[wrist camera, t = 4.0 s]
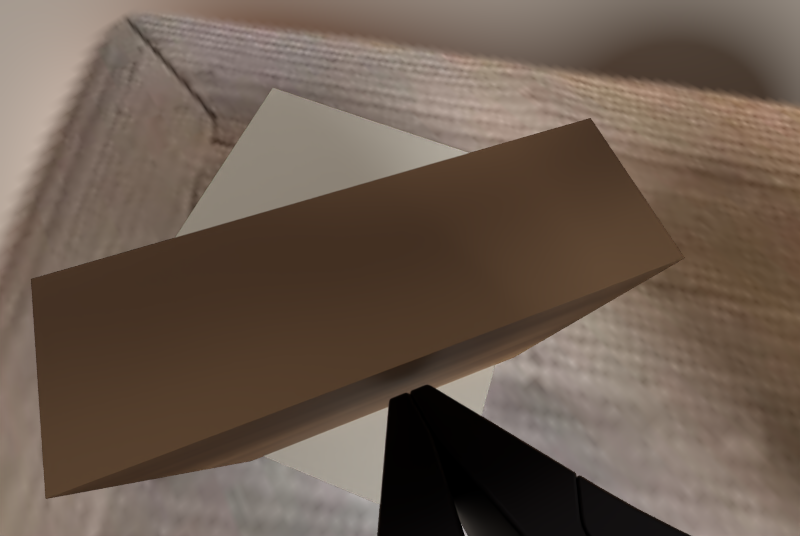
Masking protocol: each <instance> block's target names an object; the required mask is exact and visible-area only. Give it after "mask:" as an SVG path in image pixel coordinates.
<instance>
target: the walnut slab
mask: <svg viewBox="0 0 800 536" xmlns="http://www.w3.org/2000/svg"><path fill="white" fill-rule="evenodd" d="M684 258H685V257H684V256H683V254H682V253H681V252H680V250H679V249H678V247H677V246H676V244H675V243H674V241H673V240H672V238H671V237H670V235H669V234H668V232H667V231H666V229H665V228H664V226H663V225H662V223H661V222H660V220H659V219H658V217H657V216H656V214H655V213H654V211H653V210H652V209H651V207H650V206H649V204H648V203H647V201H646V200H645V198H644V197H643V195H642V194H641V192H640V191H639V189H638V188H637V186H636V185H635V183H634V182H633V180H632V179H631V177H630V176H629V174H628V173H627V171H626V170H625V168H624V167H623V166H622V164H621V163H620V161H619V160H618V158H617V157H616V155H615V154H614V152H613V151H612V149H611V148H610V146H609V145H608V143H607V142H606V140H605V139H604V137H603V136H602V134H601V133H600V131H599V130H598V128H597V127H596V126H595V124H594V123H593V121H592V120H591V118H589V119H586V120H582V121H579V122H575V123H572V124H568V125H565V126H561V127H558V128H554V129H551V130H547V131H544V132H540V133H537V134H534V135H530V136H527V137H523V138H520V139H516V140H513V141H509V142H506V143H502V144H499V145H495V146H492V147H488V148H485V149H481V150H478V151H474V152H471V153H468V154H464V155H461V156H457V157H454V158H450V159H447V160H443V161H440V162H436V163H433V164H429V165H426V166H422V167H419V168H415V169H412V170H408V171H405V172H401V173H398V174H395V175H391V176H388V177H384V178H381V179H377V180H374V181H370V182H367V183H363V184H360V185H356V186H353V187H349V188H346V189H342V190H339V191H335V192H332V193H329V194H325V195H322V196H318V197H315V198H311V199H308V200H304V201H301V202H297V203H294V204H290V205H287V206H283V207H280V208H276V209H273V210H269V211H266V212H262V213H259V214H256V215H252V216H249V217H245V218H242V219H238V220H235V221H231V222H228V223H224V224H221V225H217V226H214V227H210V228H207V229H203V230H200V231H196V232H193V233H190V234H186V235H183V236H179V237H176V238H172V239H169V240H165V241H162V242H158V243H155V244H151V245H148V246H144V247H141V248H137V249H134V250H130V251H127V252H123V253H120V254H117V255H113V256H110V257H106V258H103V259H99V260H96V261H92V262H89V263H85V264H82V265H78V266H75V267H71V268H68V269H64V270H61V271H57V272H54V273H50V274H47V275H44V276H40V277H37V278H33V279H31V287H32V302H33V317H34V332H35V347H36V362H37V378H38V393H39V408H40V423H41V438H42V453H43V468H44V483H45V498H46V499H48V498H53V497H59V496H64V495H70V494H75V493H80V492H86V491H91V490H97V489H102V488H107V487H113V486H118V485H124V484H129V483H135V482H140V481H145V480H151V479H156V478H162V477H167V476H172V475H178V474H183V473H189V472H194V471H200V470H205V469H210V468H216V467H221V466H227V465H232V464H237V463H243V462H248V461H252V460H255V459H258V458H260V457H263V456H265V455H268V454H270V453H273V452H275V451H278V450H280V449H283V448H285V447H288V446H290V445H293V444H296V443H298V442H301V441H303V440H306V439H308V438H311V437H313V436H316V435H318V434H321V433H323V432H326V431H329V430H331V429H334V428H336V427H339V426H341V425H344V424H346V423H349V422H351V421H354V420H356V419H359V418H361V417H364V416H367V415H369V414H372V413H374V412H377V411H379V410H382V409H384V408H387V407H388V404H389V400H390V399H391V398H393V397H395V396H398V395H400V394H403V393H409V394H410V392H411V390H413V389H416V388H418V387H421V386H424V385H427V384H428V385H431V386H433V387H434V388H438V387H440V386H443V385H445V384H448V383H450V382H453V381H455V380H458V379H460V378H463V377H465V376H468V375H470V374H473V373H476V372H478V371H481V370H483V369H486V368H488V367H491V366H493V365H496V364H498V363H501V362H503V361H506V360H509V359H511V358H514V357H515V356H517V355H519V354H521V353H522V352H524V351H526V350H527V349H529V348H531V347H533V346H534V345H536V344H538V343H539V342H541V341H543V340H545V339H546V338H548V337H550V336H551V335H553V334H555V333H557V332H558V331H560V330H562V329H563V328H565V327H567V326H569V325H570V324H572V323H574V322H575V321H577V320H579V319H581V318H582V317H584V316H586V315H588V314H589V313H591V312H593V311H594V310H596V309H598V308H600V307H601V306H603V305H605V304H606V303H608V302H610V301H612V300H613V299H615V298H617V297H618V296H620V295H622V294H624V293H625V292H627V291H629V290H630V289H632V288H634V287H636V286H637V285H639V284H641V283H642V282H644V281H646V280H648V279H649V278H651V277H653V276H654V275H656V274H658V273H660V272H661V271H663V270H665V269H666V268H668V267H670V266H672V265H673V264H675V263H677V262H678V261H680V260H682V259H684Z"/></svg>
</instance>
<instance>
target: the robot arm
mask: <svg viewBox="0 0 800 536" xmlns="http://www.w3.org/2000/svg"><path fill="white" fill-rule="evenodd" d="M461 524H462V525H461ZM462 526H463V528H464V530H465V531H466V533H467V535H468V536H691V535H689V534H687V533H684V532H682V531H680V530H678V529H676V528H674V527H672V526H670V525H668V524H666V523H664V522H663V521H661V520H659V519H657V518H655V517H653V516H651V515H649V514H647V513H645V512H643V511H641V510H639V509H637V508H635V507H633V506H632V505H630V504H628V503H626V502H625V501H623V500H621V499H619V498H618V497H616V496H614V495H612V494H611V493H609V492H607V491H605V490H604V489H602V488H600V487H599V486H597V485H595V484H594V483H592V482H590V481H589V480H587V479H585V478H584V477H582V476H580V475H579V476H576V473H575V472H573V471H572V470H570V469H569V468H567V467H565V466H564V465H562V464H560V463H559V462H557V461H555V460H554V459H552V458H550V457H549V456H547V455H545V454H544V453H542V452H540V451H539V450H537V449H535V448H534V447H532V446H530V445H529V444H527V443H525V442H524V441H522V440H520V439H519V438H517V437H515V436H514V435H512V434H511V433H509V432H507V431H506V430H504V429H502V428H501V427H499V426H497V425H496V424H494V423H492V422H491V421H489V420H487V419H486V418H484V417H482V416H481V415H479V414H477V413H476V412H474V411H472V410H471V409H469V408H467V407H466V406H464V405H462V404H461V403H459V402H458V401H456V400H454V399H453V398H451V397H449V396H448V395H446V394H444V393H443V392H441V391H439V390H438V389H436V388H434V387H433V386H431V385H428V384H427V385H424V386H421V387H418V388H416V389H413V390H411V392H410V394H409V393H403V394H400V395H398V396H395V397H393V398H391V399H390V400H389V404H388V416H387V428H386V439H385V451H384V463H383V474H382V486H381V497H380V509H379V521H378V532H377V536H465V535H464V532H463V529H462Z"/></svg>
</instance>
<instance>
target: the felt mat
mask: <svg viewBox="0 0 800 536" xmlns="http://www.w3.org/2000/svg"><path fill="white" fill-rule="evenodd" d="M464 154H468V152H465V151H462V150H459V149H456V148H453V147H450V146H447V145H444V144H441V143H438V142H435V141H432V140H429V139H426V138H423V137H420V136H417V135H414V134H411V133H408V132H405V131H402V130H399V129H396V128H393V127H390V126H387V125H384V124H381V123H377V122H374V121H371V120H368V119H365V118H362V117H359V116H356V115H353V114H350V113H347V112H344V111H341V110H338V109H335V108H332V107H329V106H326V105H323V104H320V103H317V102H314V101H311V100H308V99H305V98H302V97H299V96H296V95H293V94H290V93H287V92H284V91H281V90H278V89H275V88H272V90H271V91H270V93H269V94H268V96H267V97H266V99H265V101H264V102H263V104H262V105H261V107H260V108H259V110H258V111H257V113H256V114H255V116H254V117H253V119H252V120H251V122H250V123H249V125H248V127H247V128H246V130H245V131H244V133H243V134H242V136H241V137H240V139H239V140H238V142H237V143H236V145H235V146H234V148H233V150H232V151H231V153H230V154H229V156H228V157H227V159H226V160H225V162H224V163H223V165H222V166H221V168H220V169H219V171H218V173H217V174H216V176H215V177H214V179H213V180H212V182H211V183H210V185H209V186H208V188H207V189H206V191H205V192H204V194H203V196H202V197H201V199H200V200H199V202H198V203H197V205H196V206H195V208H194V209H193V211H192V212H191V214H190V215H189V217H188V219H187V220H186V222H185V223H184V225H183V226H182V228H181V229H180V231H179V232H178V234H177V235H176V237H179V236H183V235H186V234H190V233H193V232H196V231H200V230H203V229H207V228H210V227H214V226H217V225H221V224H224V223H228V222H231V221H235V220H238V219H242V218H245V217H249V216H252V215H256V214H259V213H262V212H266V211H269V210H273V209H276V208H280V207H283V206H287V205H290V204H294V203H297V202H301V201H304V200H308V199H311V198H315V197H318V196H322V195H325V194H329V193H332V192H335V191H339V190H342V189H346V188H349V187H353V186H356V185H360V184H363V183H367V182H370V181H374V180H377V179H381V178H384V177H388V176H391V175H395V174H398V173H401V172H405V171H408V170H412V169H415V168H419V167H422V166H426V165H429V164H433V163H436V162H440V161H443V160H447V159H450V158H454V157H457V156H461V155H464ZM176 237H175V238H176ZM494 368H495V365H493V366H491V367H488V368H486V369H483V370H481V371H478V372H476V373H473V374H470V375H468V376H465V377H463V378H460V379H458V380H455V381H453V382H450V383H448V384H445V385H443V386H440V387H438V388H436V389H438V390H439V391H441V392H443V393H444V394H446V395H448V396H449V397H451V398H453V399H454V400H456V401H458V402H459V403H461V404H462V405H464V406H466V407H467V408H469V409H471V410H472V411H474V412H476V413H477V414H479V415H482V411H483V408H484V404H485V400H486V397H487V393H488V389H489V386H490V382H491V379H492V375H493V371H494ZM387 416H388V407H387V408H384V409H382V410H379V411H377V412H374V413H372V414H369V415H367V416H364V417H361V418H359V419H356V420H354V421H351V422H349V423H346V424H344V425H341V426H339V427H336V428H334V429H331V430H329V431H326V432H323V433H321V434H318V435H316V436H313V437H311V438H308V439H306V440H303V441H301V442H298V443H296V444H293V445H290V446H288V447H285V448H283V449H280V450H278V451H275V452H273V453H270V454H268V455H265V456H264V457H266V458H268V459H271V460H273V461H276V462H278V463H280V464H283V465H285V466H288V467H290V468H293V469H295V470H297V471H300V472H302V473H305V474H307V475H309V476H312V477H314V478H317V479H319V480H322V481H324V482H326V483H329V484H331V485H334V486H336V487H339V488H341V489H343V490H346V491H348V492H351V493H353V494H355V495H358V496H360V497H363V498H365V499H368V500H370V501H372V502H375V503H377V504H380V497H381V486H382V474H383V463H384V451H385V439H386V428H387Z"/></svg>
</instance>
